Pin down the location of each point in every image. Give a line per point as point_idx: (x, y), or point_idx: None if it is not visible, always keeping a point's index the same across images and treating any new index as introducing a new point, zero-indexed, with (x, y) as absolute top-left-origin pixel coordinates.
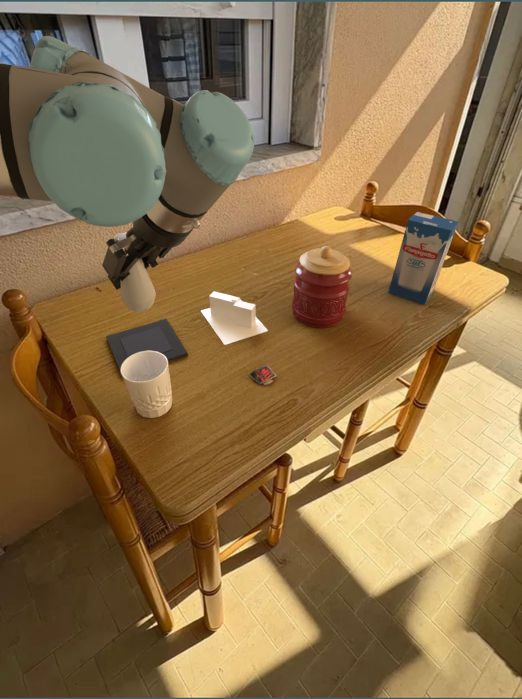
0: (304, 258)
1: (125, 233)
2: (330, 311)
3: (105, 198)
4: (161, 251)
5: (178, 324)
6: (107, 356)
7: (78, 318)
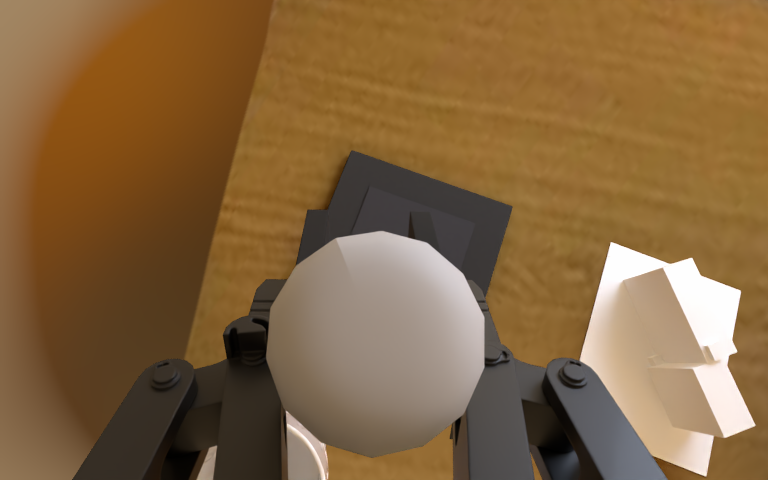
0: None
1: (413, 294)
2: None
3: None
4: (563, 446)
5: (525, 245)
6: None
7: (351, 32)
